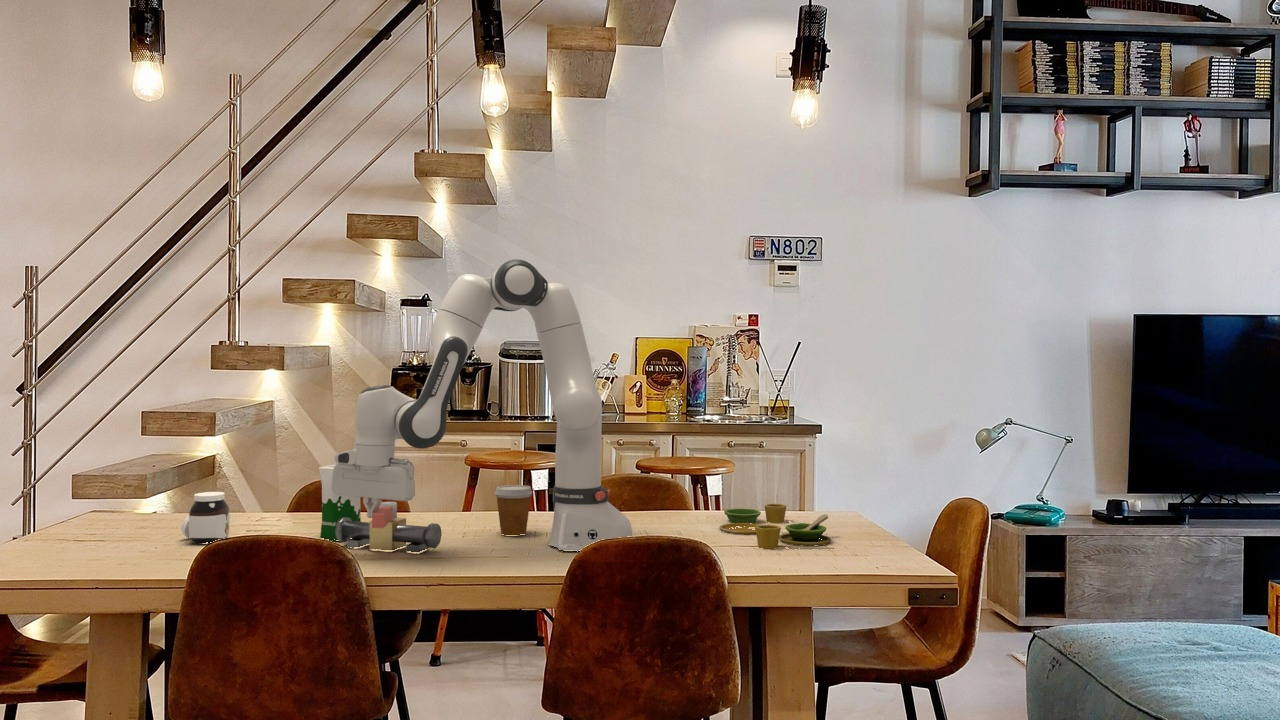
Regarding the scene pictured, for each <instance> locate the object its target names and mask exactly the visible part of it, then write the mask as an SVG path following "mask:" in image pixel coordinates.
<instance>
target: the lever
mask: <svg viewBox="0 0 1280 720" xmlns="http://www.w3.org/2000/svg"><path fill="white" fill-rule="evenodd" d="M397 516H398V501H397V502H396V501H384V502H383V501H382V503H381V505H380V506H379V508H378V509H377V511H376V512H374V513H373V514H372V518H371V521H372V528H384V527H385V526H386V525H387V524H388V523H389V522H390V521H391V520H392V519H395V518H398V517H397Z"/></svg>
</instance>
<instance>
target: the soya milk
mask: <svg viewBox="0 0 1280 720" xmlns="http://www.w3.org/2000/svg"><path fill="white" fill-rule="evenodd" d="M335 465H336V464H330V465H325V466H320V467H318V472H319V477H320V482H321V523H320V524H321V525H320V536H319V539H320V538H324V539H329V540H333V541H332V542H335V541H336V540H338V539H337V538H336V535H335V527H336V524H337V522H338V520H339V519H340V518H342V517H349V518H351V520H352V521H357V522H362V521H361V497H355V496H344V495H335V494H334V493H333V491H332V487H331V486H332V473H333V469H334V467H335ZM334 539H335V540H334ZM336 543H338V542H337V541H336Z"/></svg>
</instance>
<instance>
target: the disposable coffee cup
mask: <svg viewBox="0 0 1280 720" xmlns="http://www.w3.org/2000/svg"><path fill="white" fill-rule="evenodd" d="M494 494H495V497H496V502H497V504H496V505H497V511H498V520H499V527H500V529H499V530H500V535H501V534H504V535H520V534H525V533H526V534H527V528H528V527H527V526H528V520H529V513H530V504H531V497H532V494H533V491H532V487H531V486H530V485H522V484H521V485H520V484H509V485H500V486H497V487H496V490H495V492H494Z"/></svg>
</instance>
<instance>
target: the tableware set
mask: <svg viewBox="0 0 1280 720" xmlns="http://www.w3.org/2000/svg"><path fill="white" fill-rule="evenodd" d="M764 511H765V517H766V523H768V522H770V523H769V524H760V523H759V524H758V523H755V522H756V521H757V519H758V517H760V515H761V513H762V512H761V511H760V510H757V509H751V508H730V509H726V510H724V511H723V513H724V515H726V517H727V519H728V520H729V522H730V523H725V524H721V525H719V526H718V527H719V529H720V530H721V531H722V532H723V531H724V533H726V532H727V533H726V534H730V533H733V534H732V535H738V534H744V535H743V536H751V535H750V534H755V535H756V542H757V548H758V547H759V548H758V549H760V548H763V549H762V550H768V549H770V550H775V549H774V548H777V549H778V547H779V543H780V542H782V543H783V542H784V543H783V544H785V543H787V544H786V545H789V544H793V545H789V546H788V548H789V549H798V550H811V549H835V548H834V547H829V546H827V547H826V546H824V545H823V544H826V545H828V544H829V543H830V542H831V541H832V538H831V537H829V536H827V535H822V534H823V533H826V531H827V527H826V526H824V525H821V524H822V523H823V522H825V521H826V520H828V518H829V515H828V514H825V513H824V514H821V515H820V516H819V517H817V518H816V519H815V520H813V521H814V522H813V523H812V524H811V523H806V522H804V523H799V522H798V523H794V524H790V525H785V526H784V527H785V530H786V531H781V529H782V528H781V526H779V525H773V524H783V522H784V523H785V517H786V511H787V505H786V504H783V503H767V504H764ZM789 520H790V519H789ZM789 520H786V522H787V521H789ZM790 521H792V520H790ZM731 522H732V523H731ZM750 523H752V524H750ZM736 526H740V527H742V528H738V527H736ZM744 526H745V527H744ZM731 527H733V528H734V529H732V528H731ZM735 527H736V529H735ZM749 527H755V530H752V529H748V528H749ZM729 528H730V529H729ZM780 533H782V534H780ZM819 538H820V539H819ZM821 539H822V540H821ZM779 541H780V542H779ZM827 543H828V544H827ZM796 545H803V546H796ZM814 545H821V546H814ZM799 548H800V549H799ZM789 549H788V550H789Z"/></svg>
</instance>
